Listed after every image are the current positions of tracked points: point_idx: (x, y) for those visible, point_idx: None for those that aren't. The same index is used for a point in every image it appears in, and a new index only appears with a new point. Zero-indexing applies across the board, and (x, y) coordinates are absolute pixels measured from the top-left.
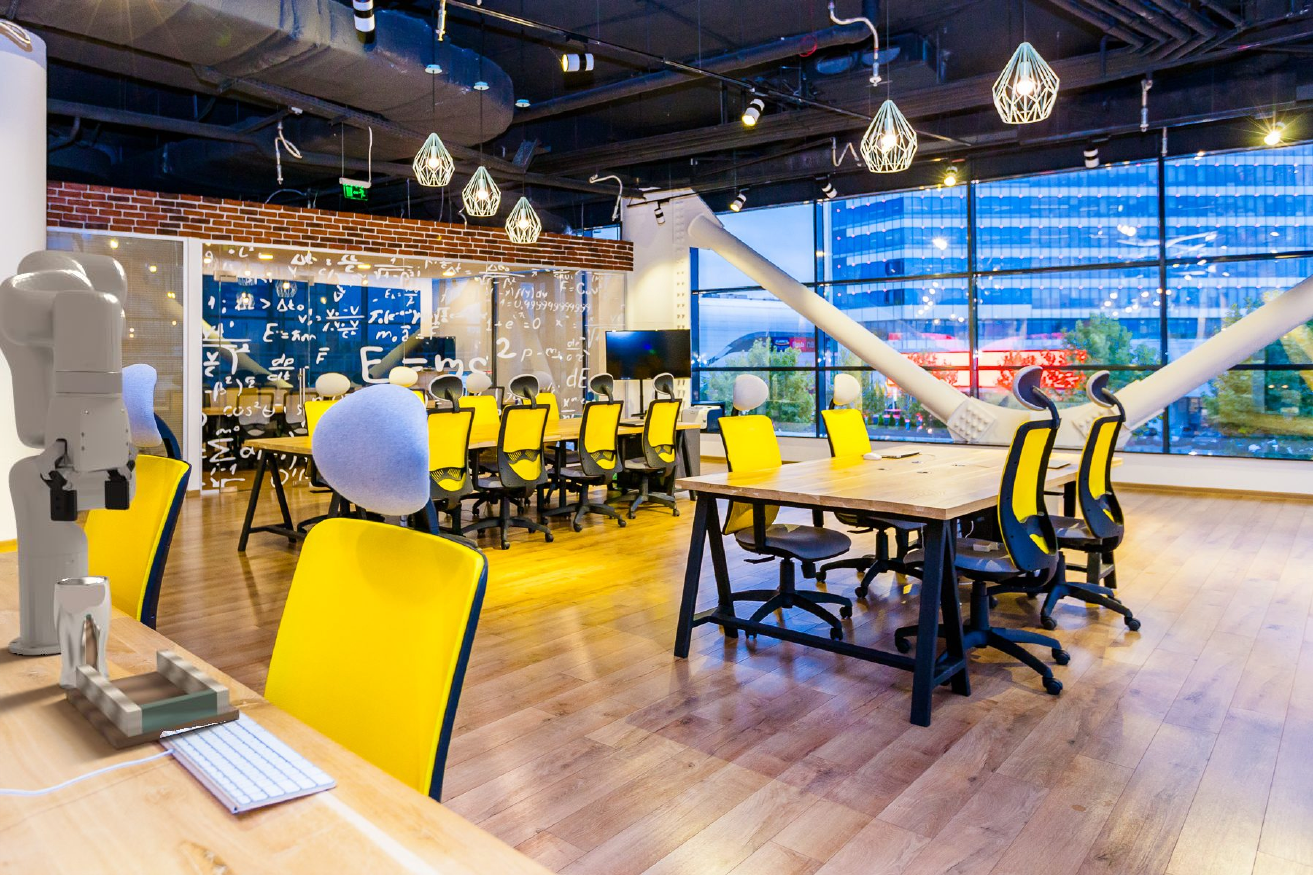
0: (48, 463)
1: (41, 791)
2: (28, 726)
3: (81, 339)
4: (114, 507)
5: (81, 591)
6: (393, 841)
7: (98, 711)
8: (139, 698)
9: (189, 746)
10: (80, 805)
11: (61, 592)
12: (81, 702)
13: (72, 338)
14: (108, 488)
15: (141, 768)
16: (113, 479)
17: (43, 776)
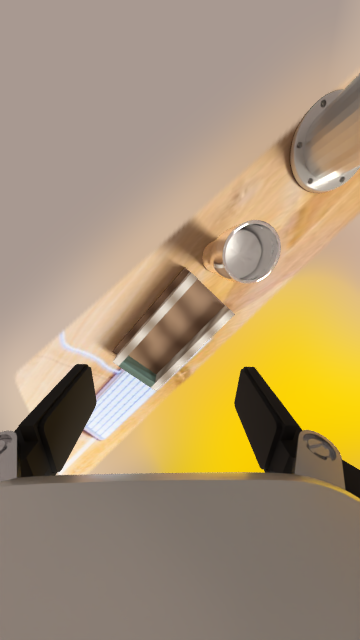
0: None
1: (65, 345)
2: (135, 279)
3: None
4: (238, 388)
5: (223, 270)
6: (68, 465)
7: (149, 316)
8: (172, 326)
9: (124, 377)
10: (59, 369)
11: (221, 247)
12: (162, 295)
13: None
14: (263, 415)
15: (98, 371)
16: (281, 453)
17: (79, 335)
